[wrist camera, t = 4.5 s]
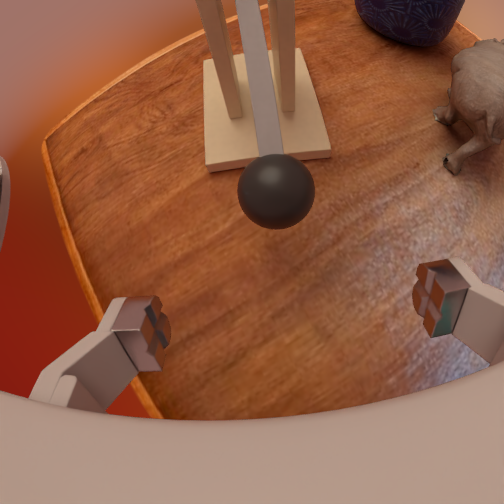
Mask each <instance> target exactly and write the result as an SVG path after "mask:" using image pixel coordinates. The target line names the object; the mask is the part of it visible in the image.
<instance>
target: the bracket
mask: <svg viewBox="0 0 504 504" xmlns="http://www.w3.org/2000/svg"><path fill="white" fill-rule="evenodd" d="M196 3H197V6H198V10H199V13H200V17H201V20H202V24H203V27H204V31H205V34H206V37H207V41H208V44H209V48H210V51H211V55H212V58H213V59H209V60H204V138H205V165H206V167H207V169H208V171H209V172H216V171H222V170H229V169H235V168H242V167H246V166H247V165H248V164H249V163H250V162H251V161H253V160H254V159H256V158H257V157H259V150H258V143H257V136H256V129H255V122H254V116H253V109H252V102H251V96H250V89H249V83H248V76H247V70H246V63H245V57H244V54H238V55H233V53H232V48H231V43H230V39H229V34H228V29H227V25H226V20H225V16H224V11H223V7H222V3H221V0H196ZM268 11H269V21H270V32H271V44H272V50H269V51H268V56H269V61H270V67H271V73H272V79H273V85H274V91H275V97H276V103H277V110H278V116H279V123H280V130H281V137H282V144H283V151H284V154H287V155H290V156H292V157H294V158H296V159H298V160H309V159H319V158H329V157H330V154H331V145H330V141H329V138H328V134H327V130H326V127H325V123H324V120H323V116H322V113H321V110H320V106H319V103H318V100H317V97H316V93H315V90H314V87H313V84H312V81H311V78H310V75H309V72H308V69H307V66H306V63H305V60H304V58H303V55H302V52H301V49H300V48H295V3H294V0H268Z"/></svg>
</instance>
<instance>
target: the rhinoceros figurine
mask: <svg viewBox="0 0 504 504" xmlns="http://www.w3.org/2000/svg"><path fill="white" fill-rule="evenodd" d="M451 72H452V84H451V88H448V94H449V97H450V102H449V104H448V106H443V107H441V106H438V107H437V108H436V109H434V110H433V114H434V116H435V117H436V118H435V120H438V121H440V122H442V123H444V124H445V125H447V126H448V125H450V124H454V123H456V122H457V121H459V120H463V121H464V122H465V123H466V124H467V125H468V126H469V128H470V129H471V130H472V131H473V133H474V136H473V137H472V138H471V139H470V140H469V141H468V142H466V143H465V144H463V145H462V146H461V147H460V148H459V149H458V150H456V151H455V152H454V153H451V154H446V156H445V157H444V158H443V162H444V159H445V158H446V157H447V158H448V162H447V164H443V165H444V166H445V167H446V168H447V169H448V170H451V171H452V172H453V174H454V175H458V174H459V173H460V171H461V166H462V163H463V162H464V160H465V159H466V158H467V157H470V156H471V155H473V154H475V153H477V152H479V151H482V150H484V149H486V148H488V147H490V146H492V145H494V144H500V143H501V140H502V139H503V138H504V39H503V40H501V42H498V41H497V39H490V40H482V41H478V42H475V44H474V46H473V47H470V48H467V49H463V50H462V51H460V52H459V53H458V54H457V55H455V56H454V58H453V60H452V63H451Z"/></svg>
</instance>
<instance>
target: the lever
mask: <svg viewBox="0 0 504 504" xmlns="http://www.w3.org/2000/svg"><path fill="white" fill-rule="evenodd" d="M235 3H236V9H237V15H238V21H239V27H240V33H241V39H242V45H243V51H244V57H245V63H246V70H247V76H248V83H249V89H250V96H251V102H252V109H253V116H254V122H255V129H256V136H257V143H258V150H259V157H257V158H256V159H254V160H253V161H251V162H250V163H249V164H248V165H247V166H246V167H245V169H244V170H243V172H242V174H241V176H240V179H239V182H238V190H237V192H238V199H239V203H240V206H241V208H242V210H243V211H244V213H245V214H246V216H247V217H248V218H249V219H250V220H252V221H253V222H254V223H256V224H257V225H259V226H261V227H264V228H268V229H285V228H289V227H291V226H294V225H296V224H297V223H299V222H300V221H301V220H302V219H303V218H304V217H305V216H306V215H307V214H308V212H309V211H310V209H311V207H312V204H313V202H314V197H315V186H314V181H313V178H312V176H311V174H310V172H309V170H308V169H307V167H306V166H305V165H304V164H303V163H302V162H301V161H299V160H298V159H296V158H294V157H292V156H290V155H287V154H284V151H283V144H282V137H281V130H280V123H279V116H278V110H277V103H276V97H275V91H274V85H273V79H272V73H271V67H270V61H269V56H268V50H267V45H266V39H265V34H264V28H263V23H262V18H261V13H260V8H259V3H258V0H235Z"/></svg>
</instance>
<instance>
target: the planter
mask: <svg viewBox="0 0 504 504" xmlns="http://www.w3.org/2000/svg"><path fill="white" fill-rule="evenodd" d="M464 2H465V0H355V6H356V9H357V12H358V13H359V15H360V16H361V18H362V19H363V20H364V21H365V22H366V23H367V24H368V25H369V26H370V27H372V28H373V29H375V30H376V31H378V32H379V33H381V34H383V35H385V36H387V37H389V38H391V39H393V40H396V41H399V42H402V43H405V44H409V45H414V46H422V47H425V46H433V45H436V44H439V43H440V42H442V41H443V40H444V39H445V38H446V36H447V35H448V34H449V32H450V30H451V29H452V27H453V25H454V23H455V21H456V19H457V17H458V15H459V13H460V10H461V8H462V6H463V4H464Z"/></svg>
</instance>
